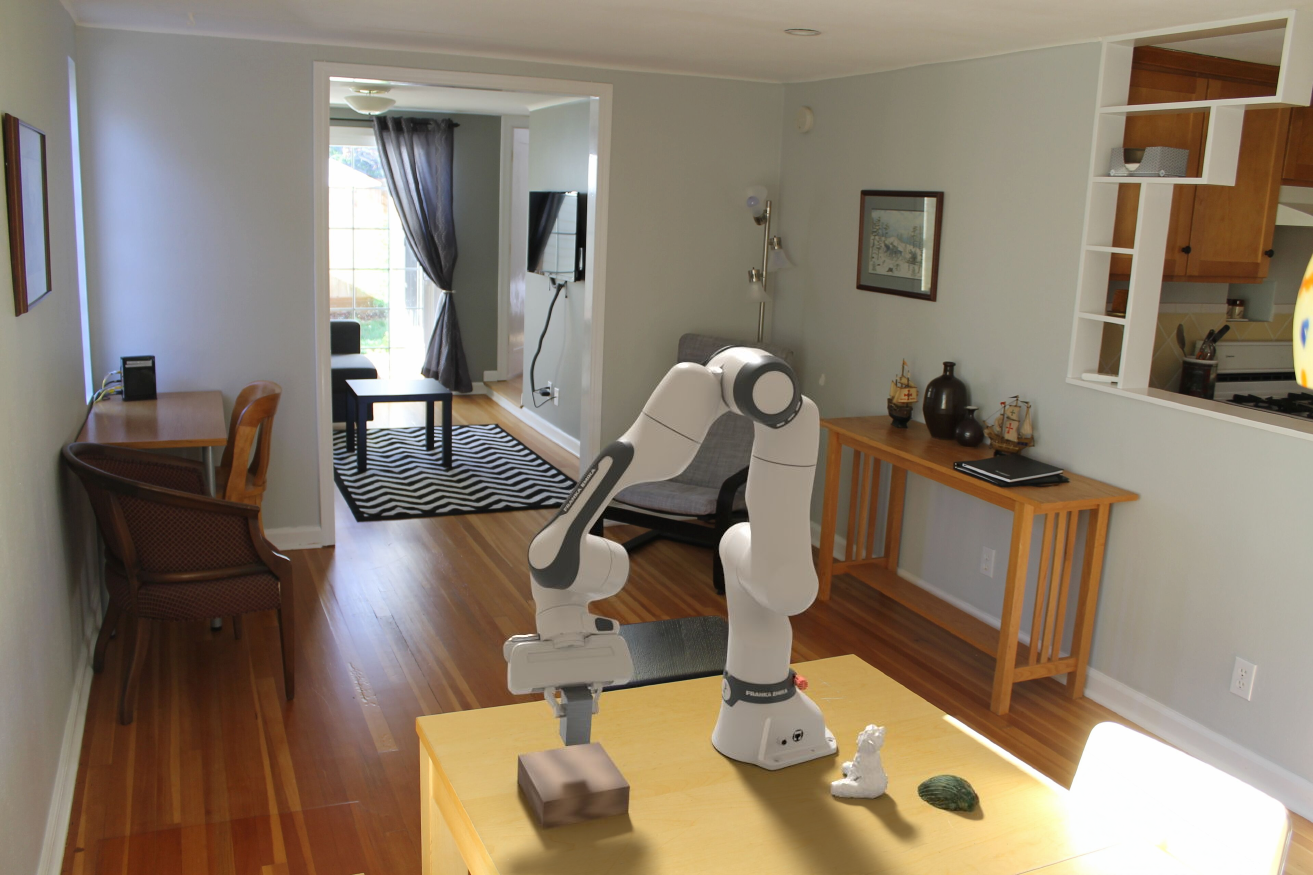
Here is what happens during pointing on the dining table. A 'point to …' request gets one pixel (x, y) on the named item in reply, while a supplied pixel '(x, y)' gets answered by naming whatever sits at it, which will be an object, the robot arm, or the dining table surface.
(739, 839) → the dining table surface
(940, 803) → the seashell
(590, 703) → the grey tin
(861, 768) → the seated beast figurine
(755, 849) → the dining table surface
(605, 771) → the walnut block
